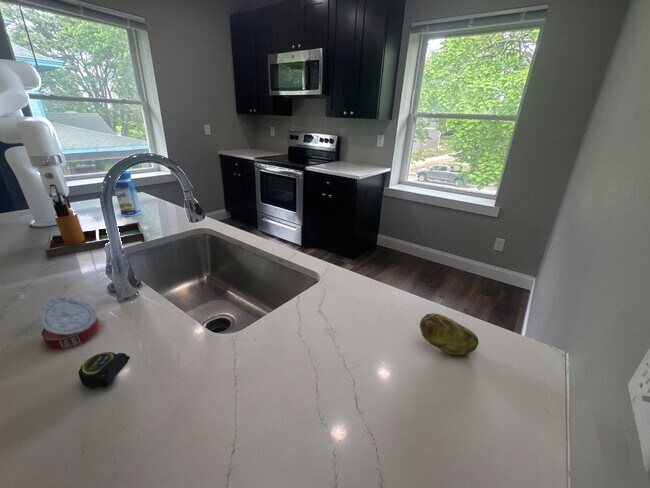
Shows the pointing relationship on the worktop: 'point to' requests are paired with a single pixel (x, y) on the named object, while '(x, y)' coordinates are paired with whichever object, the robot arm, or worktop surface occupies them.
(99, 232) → the tray
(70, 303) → the canned food
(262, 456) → the worktop surface
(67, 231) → the bottle
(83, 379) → the tape measure
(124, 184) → the beverage bottle
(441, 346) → the potato
